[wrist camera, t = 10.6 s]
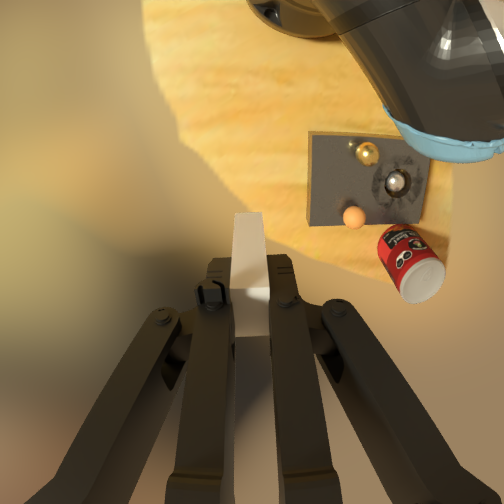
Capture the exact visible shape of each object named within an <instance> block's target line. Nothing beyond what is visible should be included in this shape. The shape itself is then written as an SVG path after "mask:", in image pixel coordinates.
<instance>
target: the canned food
mask: <svg viewBox="0 0 504 504" xmlns="http://www.w3.org/2000/svg"><path fill="white" fill-rule="evenodd" d="M377 249H378V256H379V258H380V260H381V262H382V264H383V265H384V267H385V269H386V270H387V272H388V274H389V275H390V277H391V279H392V281H393V282H394V284H395V286H396V288H397V290H398V291H399V293H400V295H401V296H402V298H403V299H404V300H405V301H406V302H408V303H411V304H417V303H421V302H424V301H426V300H428V299H429V298H431V297H432V296H433V295H434V294H435V293H436V292H437V291H438V290H439V289H440V287H441V286H442V284H443V282H444V279H445V275H446V270H445V266H444V265H443V263H442V262H441V260H440V259H439V258H438V256H437V255H436V254H435V253H434V252H433V250H432V249H431V248H430V247H429V246H428V245H427V243H426V242H425V241H424V240H423V239H422V238H421V236H420V235H419V234H418V233H417V232H416V231H415V230H414V229H413V228H412V227H411V226H408V225H406V224H396V225H393V226H391V227H390V228H388V229H387V230H386V231H385V232H384V233H383V234H382V236H381V237H380V239H379V242H378V247H377Z"/></svg>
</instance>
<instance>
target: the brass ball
mask: <svg viewBox="0 0 504 504" xmlns="http://www.w3.org/2000/svg"><path fill="white" fill-rule="evenodd" d="M355 155H356V159H357V161H358V162H359V163H360V164H361V165H363V166H366V167H371V166H374V165H375V164H376V163H377V162H378V161H379V158H380V152H379V149H378V148H377V146H376V145H374V144H373V143H370V142H364V143H361V144H360V145H359V146H358V147H357V149H356V152H355Z"/></svg>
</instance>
